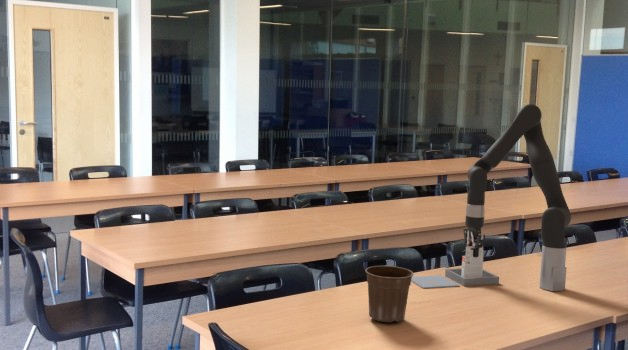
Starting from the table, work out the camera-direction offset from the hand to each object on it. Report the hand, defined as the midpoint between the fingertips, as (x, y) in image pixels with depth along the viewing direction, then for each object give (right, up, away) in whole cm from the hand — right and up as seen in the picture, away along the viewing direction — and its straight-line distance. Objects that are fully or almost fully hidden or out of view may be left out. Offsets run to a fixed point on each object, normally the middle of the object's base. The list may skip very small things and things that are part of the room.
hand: (472, 255), depth 293 cm
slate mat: (-18, -10, -4) cm, 21 cm away
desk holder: (0, -10, +1) cm, 10 cm away
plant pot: (-41, -15, -51) cm, 67 cm away
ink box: (0, -10, +1) cm, 10 cm away
